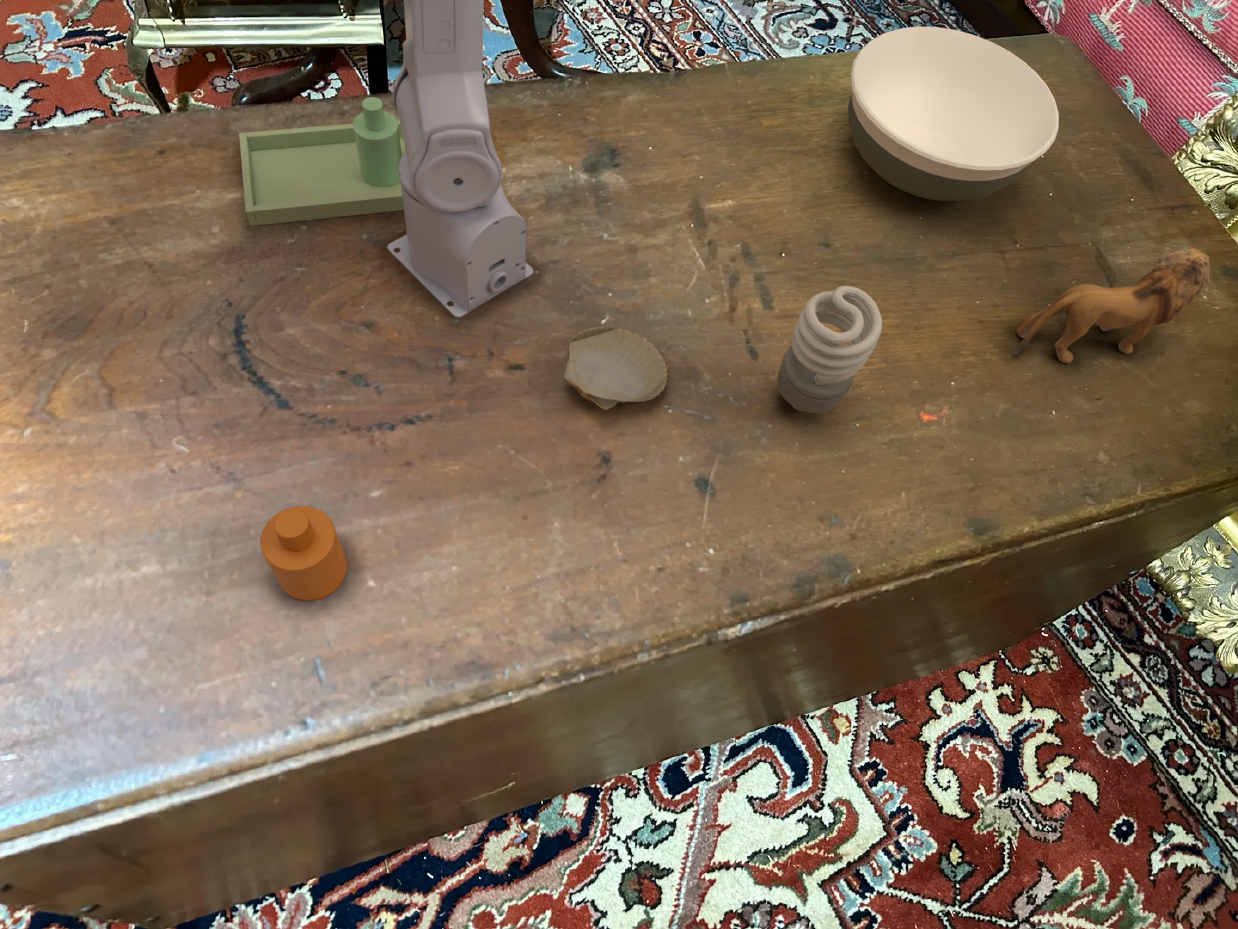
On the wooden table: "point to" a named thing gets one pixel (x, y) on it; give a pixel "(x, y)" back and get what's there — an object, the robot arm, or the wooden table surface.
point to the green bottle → (377, 144)
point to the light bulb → (828, 348)
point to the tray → (309, 176)
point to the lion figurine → (1125, 303)
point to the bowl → (947, 113)
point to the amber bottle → (304, 552)
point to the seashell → (615, 367)
